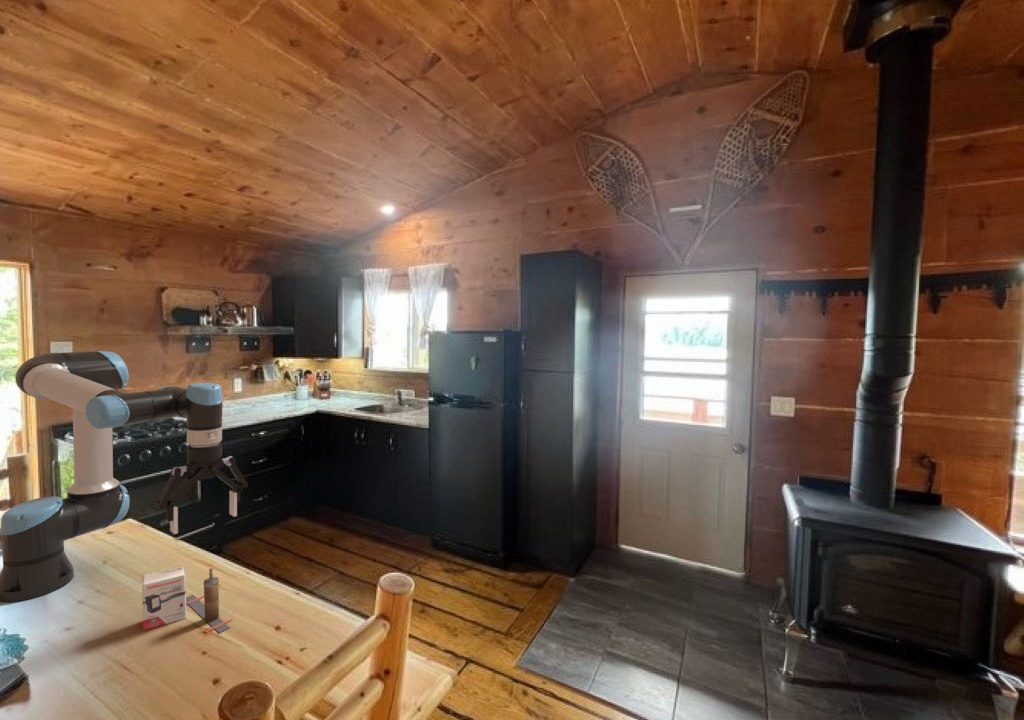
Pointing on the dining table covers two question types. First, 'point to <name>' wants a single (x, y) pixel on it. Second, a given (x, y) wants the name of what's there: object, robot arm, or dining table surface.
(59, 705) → the dining table surface
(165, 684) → the dining table surface
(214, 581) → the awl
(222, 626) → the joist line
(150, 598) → the ink box
